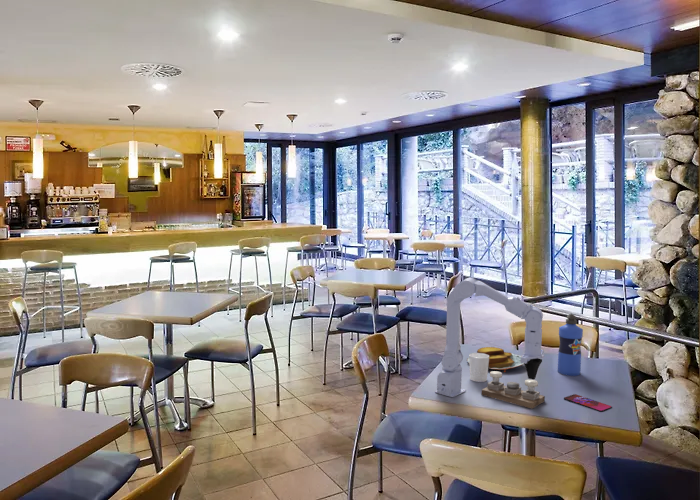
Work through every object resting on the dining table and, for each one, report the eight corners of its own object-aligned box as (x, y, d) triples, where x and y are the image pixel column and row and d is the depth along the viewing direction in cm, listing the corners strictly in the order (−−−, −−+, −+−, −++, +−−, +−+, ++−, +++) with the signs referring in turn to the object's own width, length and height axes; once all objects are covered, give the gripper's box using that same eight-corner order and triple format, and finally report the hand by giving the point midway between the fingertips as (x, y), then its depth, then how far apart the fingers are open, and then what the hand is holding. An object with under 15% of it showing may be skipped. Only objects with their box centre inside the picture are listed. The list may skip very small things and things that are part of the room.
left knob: (498, 384, 207) (498, 375, 207) (487, 381, 210) (487, 373, 210) (503, 381, 210) (504, 373, 210) (493, 378, 213) (493, 370, 213)
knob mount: (532, 408, 196) (533, 393, 195) (481, 394, 209) (482, 380, 209) (544, 401, 203) (545, 386, 202) (494, 388, 216) (495, 374, 216)
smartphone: (601, 411, 193) (562, 397, 205) (601, 413, 193) (562, 400, 205) (613, 406, 197) (574, 393, 210) (613, 408, 198) (574, 396, 210)
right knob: (534, 393, 198) (534, 384, 197) (522, 390, 201) (522, 381, 200) (539, 390, 201) (540, 381, 201) (528, 387, 204) (528, 378, 204)
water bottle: (585, 374, 234) (588, 315, 232) (568, 377, 231) (571, 317, 228) (569, 368, 243) (572, 311, 240) (552, 370, 239) (554, 313, 237)
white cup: (466, 380, 225) (466, 356, 224) (471, 375, 232) (472, 351, 231) (485, 383, 222) (486, 359, 221) (490, 378, 228) (491, 354, 228)
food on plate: (517, 377, 231) (518, 362, 230) (459, 368, 243) (459, 353, 242) (530, 361, 253) (531, 347, 252) (476, 353, 265) (477, 340, 264)
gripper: (534, 347, 191) (533, 386, 192) (552, 339, 202) (550, 376, 203) (515, 343, 196) (514, 381, 197) (533, 336, 206) (532, 372, 208)
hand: (531, 378), depth 200 cm, fingers closed
